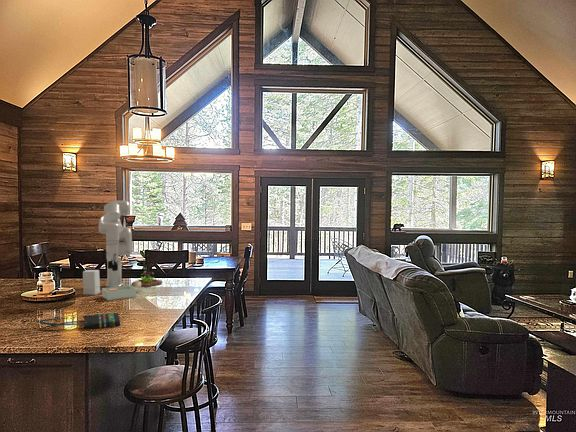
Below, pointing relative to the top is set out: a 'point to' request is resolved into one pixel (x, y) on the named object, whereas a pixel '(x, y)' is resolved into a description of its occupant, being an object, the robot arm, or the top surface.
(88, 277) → the skincare box
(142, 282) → the plant
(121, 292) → the sage tote
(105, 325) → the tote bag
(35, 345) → the top surface
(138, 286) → the birch cylinder
